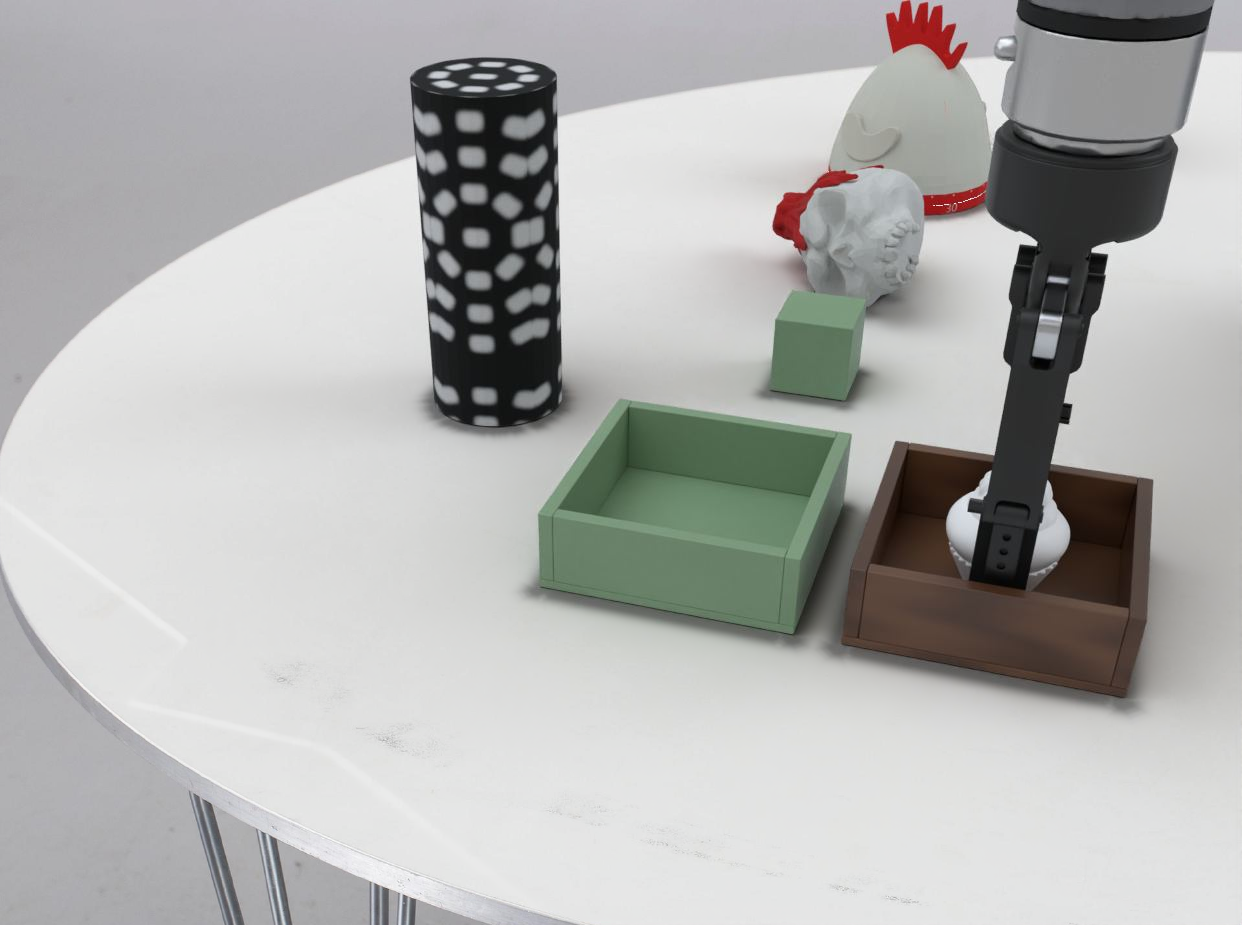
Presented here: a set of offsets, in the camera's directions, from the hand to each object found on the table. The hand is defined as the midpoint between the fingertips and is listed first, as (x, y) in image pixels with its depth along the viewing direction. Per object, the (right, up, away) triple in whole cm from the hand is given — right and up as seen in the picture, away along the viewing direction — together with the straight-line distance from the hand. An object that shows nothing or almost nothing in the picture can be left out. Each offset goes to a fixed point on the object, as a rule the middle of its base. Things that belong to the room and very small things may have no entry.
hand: (998, 576), depth 74 cm
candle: (-2, +24, +34) cm, 42 cm away
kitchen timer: (+6, +36, +52) cm, 64 cm away
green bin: (-15, +2, +5) cm, 16 cm away
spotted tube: (-27, +12, +19) cm, 35 cm away
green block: (-6, +14, +21) cm, 26 cm away
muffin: (0, -1, +1) cm, 1 cm away
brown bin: (0, -1, +1) cm, 1 cm away
